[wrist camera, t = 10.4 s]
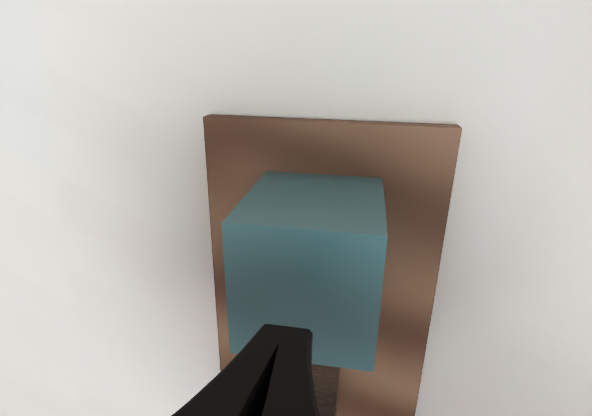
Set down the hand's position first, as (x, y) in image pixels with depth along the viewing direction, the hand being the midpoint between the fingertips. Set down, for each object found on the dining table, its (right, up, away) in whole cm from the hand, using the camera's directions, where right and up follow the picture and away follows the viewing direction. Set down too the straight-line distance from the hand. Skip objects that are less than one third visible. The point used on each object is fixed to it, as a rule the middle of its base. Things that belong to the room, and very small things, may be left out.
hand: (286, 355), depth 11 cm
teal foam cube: (+1, +3, +8) cm, 9 cm away
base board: (+2, -1, +10) cm, 10 cm away
